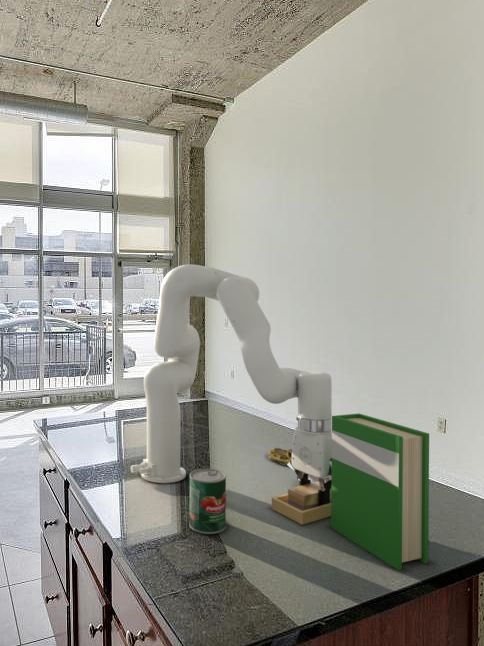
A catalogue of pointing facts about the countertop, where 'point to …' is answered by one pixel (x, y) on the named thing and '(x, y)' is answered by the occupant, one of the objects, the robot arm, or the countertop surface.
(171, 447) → the robot arm
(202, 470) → the canned tomato
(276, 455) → the yellow-brown textured oval
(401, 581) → the countertop surface
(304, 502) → the eraser
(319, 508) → the holder
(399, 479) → the hardback book
